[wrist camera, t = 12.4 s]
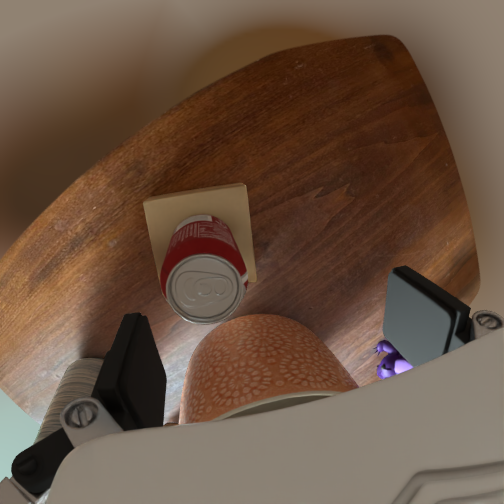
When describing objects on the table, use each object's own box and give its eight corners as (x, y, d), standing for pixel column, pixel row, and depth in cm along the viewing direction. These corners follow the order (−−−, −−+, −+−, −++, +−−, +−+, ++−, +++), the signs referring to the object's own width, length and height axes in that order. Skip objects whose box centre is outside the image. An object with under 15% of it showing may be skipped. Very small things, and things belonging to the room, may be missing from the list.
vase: (141, 407, 43) (129, 527, 21) (78, 398, 41) (44, 507, 19) (133, 353, 39) (105, 490, 18) (63, 344, 37) (5, 461, 16)
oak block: (149, 197, 34) (142, 202, 30) (241, 182, 35) (246, 185, 31) (166, 283, 37) (163, 297, 33) (251, 269, 38) (257, 281, 35)
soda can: (168, 215, 31) (150, 249, 19) (232, 210, 32) (250, 241, 20) (174, 275, 33) (164, 334, 22) (235, 270, 34) (253, 327, 23)
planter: (213, 269, 38) (226, 367, 20) (343, 317, 43) (412, 400, 25) (163, 385, 42) (156, 489, 24) (279, 412, 48) (310, 500, 30)
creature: (346, 362, 46) (379, 410, 35) (426, 295, 45) (472, 328, 34) (364, 385, 49) (394, 429, 38) (436, 325, 48) (476, 358, 37)
